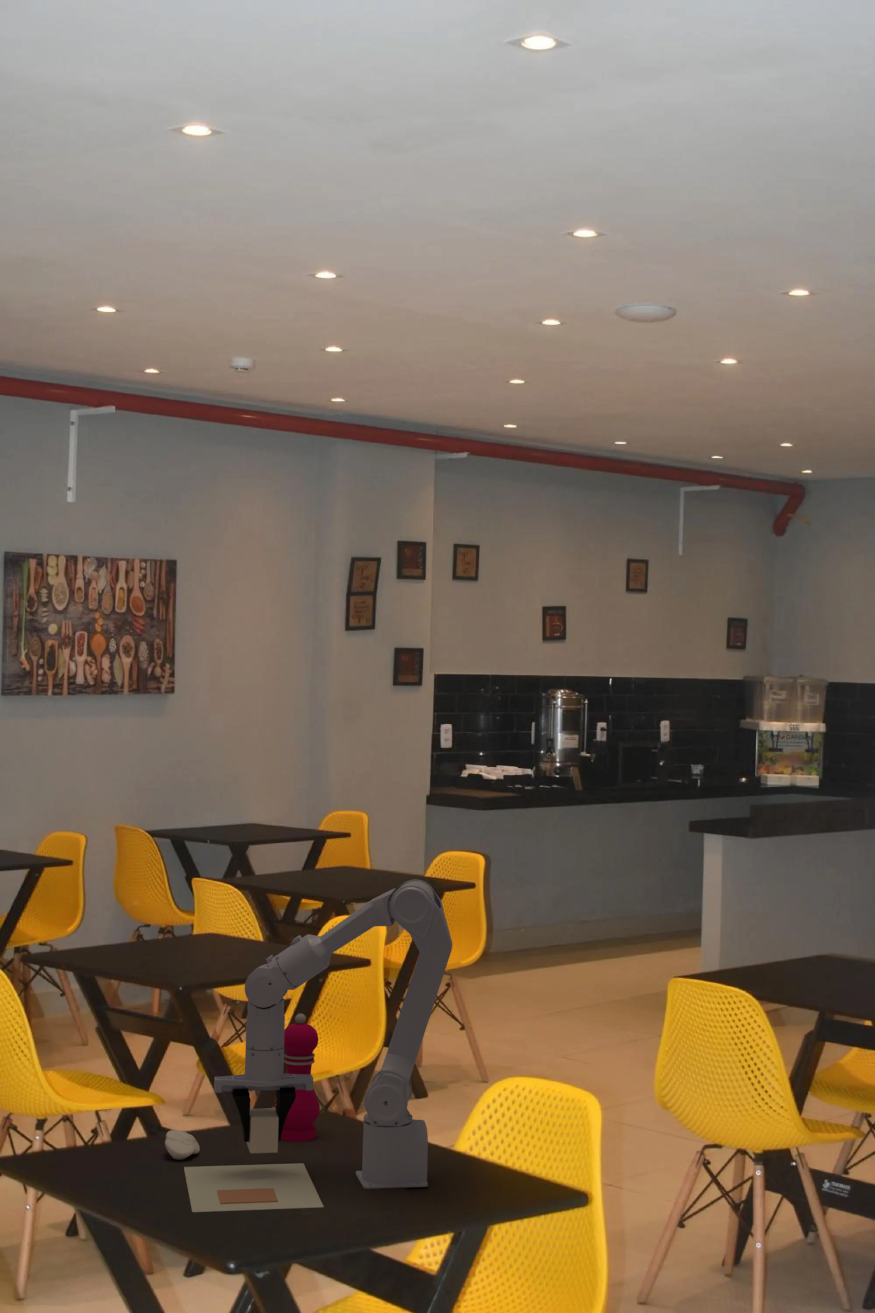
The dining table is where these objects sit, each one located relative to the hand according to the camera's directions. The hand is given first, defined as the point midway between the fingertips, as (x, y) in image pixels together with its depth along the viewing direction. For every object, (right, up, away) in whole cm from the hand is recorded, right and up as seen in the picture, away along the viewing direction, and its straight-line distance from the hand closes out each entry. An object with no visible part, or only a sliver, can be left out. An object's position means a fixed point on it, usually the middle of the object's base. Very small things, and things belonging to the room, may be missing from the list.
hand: (262, 1140), depth 229 cm
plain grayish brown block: (0, -1, 0) cm, 1 cm away
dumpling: (-13, -6, +8) cm, 17 cm away
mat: (-1, -5, -7) cm, 8 cm away
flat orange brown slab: (-1, -4, -12) cm, 12 cm away
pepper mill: (+3, -7, +22) cm, 23 cm away
